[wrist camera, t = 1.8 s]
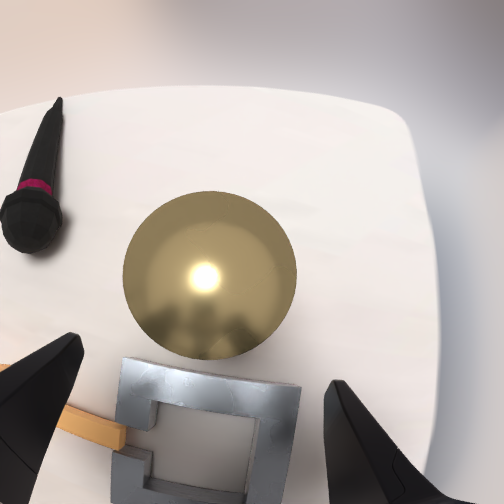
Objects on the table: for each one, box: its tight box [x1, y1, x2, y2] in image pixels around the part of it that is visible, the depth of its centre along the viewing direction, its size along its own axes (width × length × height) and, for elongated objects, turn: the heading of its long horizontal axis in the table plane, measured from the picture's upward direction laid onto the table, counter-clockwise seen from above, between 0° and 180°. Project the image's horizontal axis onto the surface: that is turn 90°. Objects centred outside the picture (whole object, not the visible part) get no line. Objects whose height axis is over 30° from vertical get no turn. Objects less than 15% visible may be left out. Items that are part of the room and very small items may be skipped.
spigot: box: [123, 191, 297, 360], centre depth 14 cm, size 5×5×13 cm
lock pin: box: [0, 364, 127, 451], centre depth 15 cm, size 3×11×3 cm, turn 82°
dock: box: [111, 357, 301, 504], centre depth 16 cm, size 11×11×2 cm
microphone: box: [0, 97, 63, 254], centre depth 22 cm, size 6×6×20 cm
